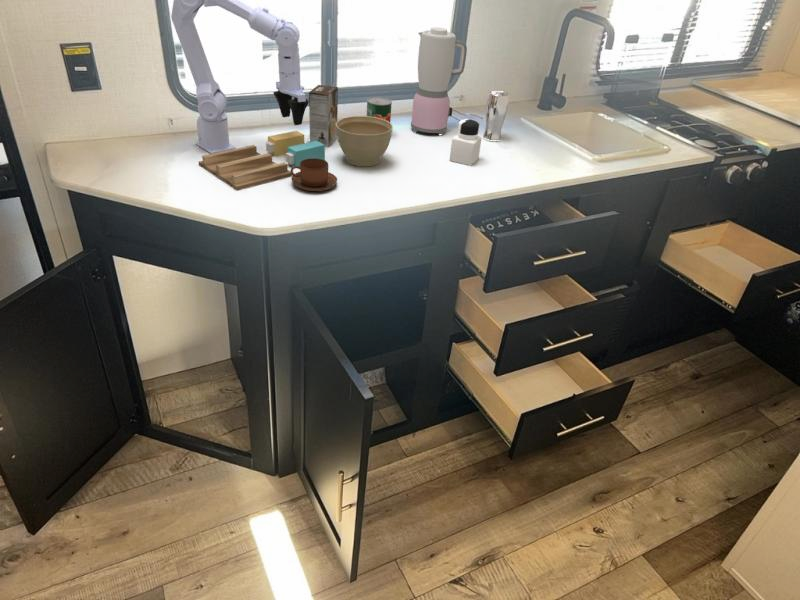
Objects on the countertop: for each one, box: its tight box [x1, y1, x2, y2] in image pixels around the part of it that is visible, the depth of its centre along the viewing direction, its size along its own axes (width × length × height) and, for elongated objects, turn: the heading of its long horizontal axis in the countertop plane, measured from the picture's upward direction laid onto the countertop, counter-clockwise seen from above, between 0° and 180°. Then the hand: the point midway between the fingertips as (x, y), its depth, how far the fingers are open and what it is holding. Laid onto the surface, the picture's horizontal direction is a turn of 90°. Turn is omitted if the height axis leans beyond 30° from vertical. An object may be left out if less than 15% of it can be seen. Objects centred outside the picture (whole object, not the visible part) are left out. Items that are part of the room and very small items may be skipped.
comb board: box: [198, 144, 293, 191], centre depth 164 cm, size 20×17×3 cm
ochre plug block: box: [265, 130, 305, 157], centre depth 177 cm, size 4×11×5 cm, turn 133°
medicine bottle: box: [449, 118, 483, 166], centre depth 181 cm, size 7×7×12 cm
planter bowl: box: [336, 115, 394, 167], centre depth 174 cm, size 16×16×11 cm
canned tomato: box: [366, 96, 393, 123], centre depth 194 cm, size 8×8×11 cm
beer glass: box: [482, 89, 510, 141], centre depth 198 cm, size 7×7×15 cm
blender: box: [410, 27, 468, 135], centre depth 195 cm, size 16×12×32 cm
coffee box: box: [308, 84, 339, 148], centre depth 184 cm, size 9×6×16 cm
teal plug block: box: [285, 141, 326, 167], centre depth 172 cm, size 4×11×5 cm, turn 133°
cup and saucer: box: [289, 158, 338, 192], centre depth 159 cm, size 12×12×6 cm
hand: (291, 120), depth 173 cm, fingers open, 7 cm apart
